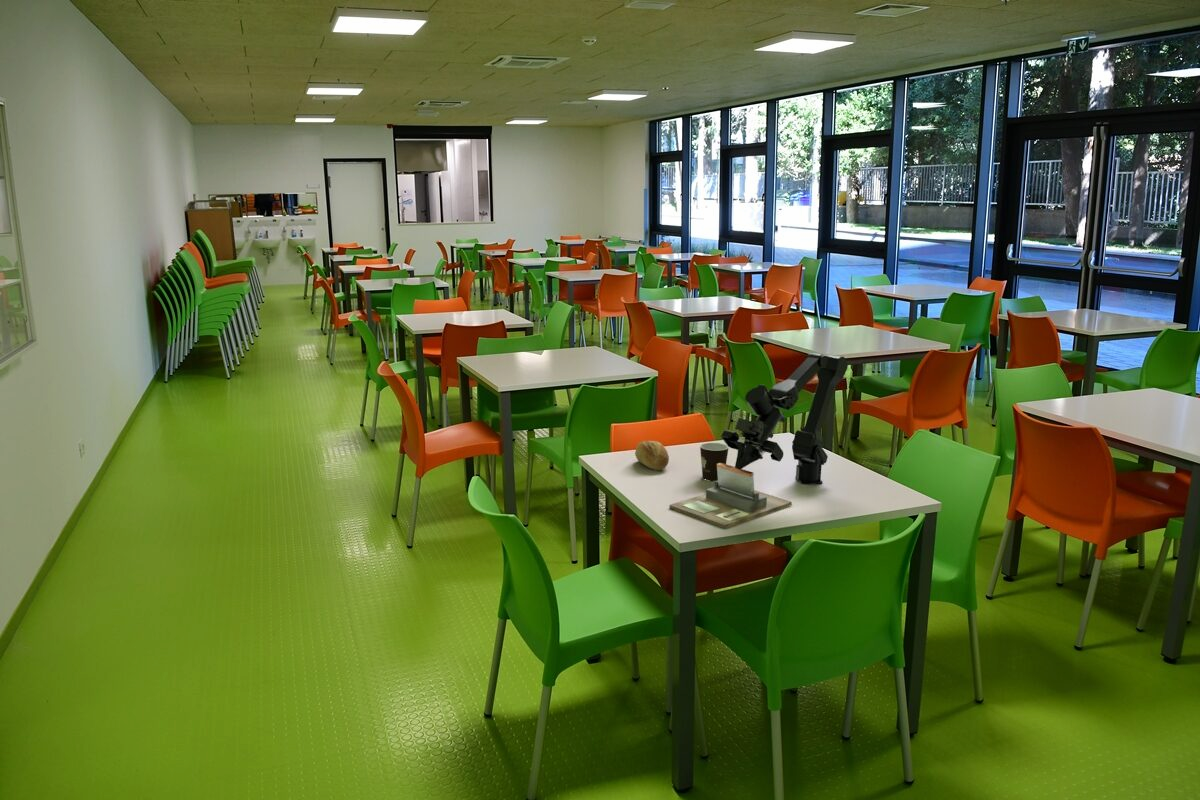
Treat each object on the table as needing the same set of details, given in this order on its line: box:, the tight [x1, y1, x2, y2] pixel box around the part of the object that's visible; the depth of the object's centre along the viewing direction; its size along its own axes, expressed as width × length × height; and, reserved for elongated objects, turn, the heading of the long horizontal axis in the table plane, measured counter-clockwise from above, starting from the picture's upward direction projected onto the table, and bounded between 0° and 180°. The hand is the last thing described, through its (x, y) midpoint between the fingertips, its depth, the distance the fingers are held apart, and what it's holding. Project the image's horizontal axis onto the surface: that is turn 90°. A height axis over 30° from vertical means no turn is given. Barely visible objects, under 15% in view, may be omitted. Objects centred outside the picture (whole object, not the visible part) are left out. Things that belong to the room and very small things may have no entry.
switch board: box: [668, 481, 793, 529], centre depth 239 cm, size 28×20×5 cm
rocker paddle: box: [717, 463, 755, 498], centre depth 239 cm, size 1×13×7 cm, turn 40°
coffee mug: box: [699, 442, 730, 482], centre depth 265 cm, size 12×9×10 cm
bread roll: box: [634, 440, 670, 471], centre depth 276 cm, size 10×15×8 cm, turn 20°
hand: (736, 469), depth 239 cm, fingers closed, pressing on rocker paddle
